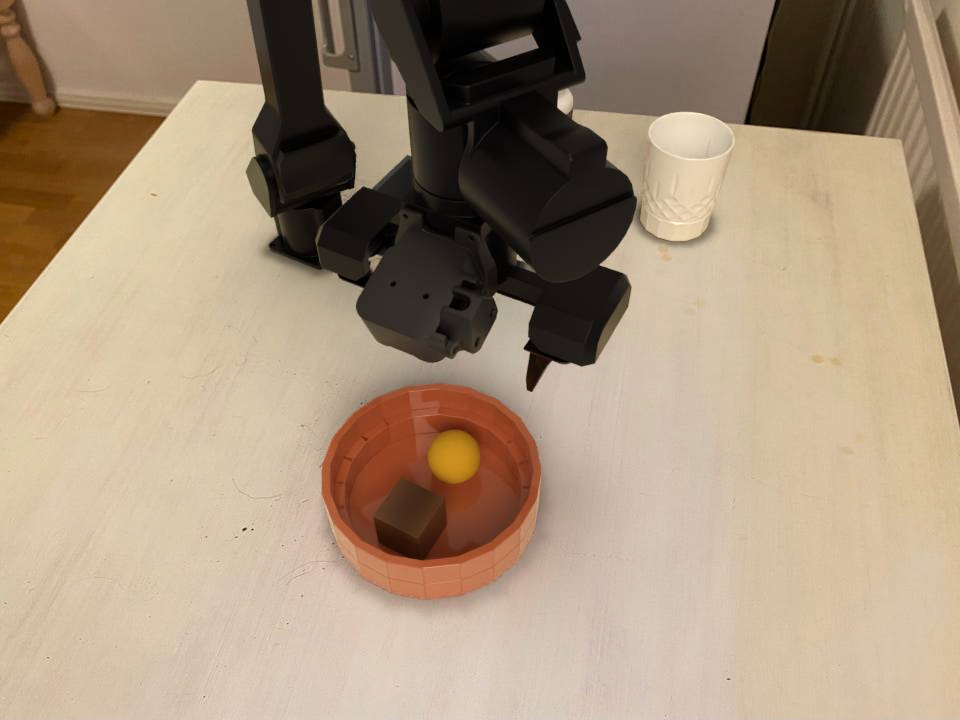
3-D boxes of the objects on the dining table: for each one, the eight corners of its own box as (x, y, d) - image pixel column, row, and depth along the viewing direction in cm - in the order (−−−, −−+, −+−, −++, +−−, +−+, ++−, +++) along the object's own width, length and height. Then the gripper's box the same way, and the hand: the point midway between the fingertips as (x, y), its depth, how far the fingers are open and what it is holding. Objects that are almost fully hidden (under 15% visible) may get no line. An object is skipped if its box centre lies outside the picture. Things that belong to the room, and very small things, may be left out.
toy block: (378, 542, 58) (372, 516, 55) (405, 503, 60) (401, 476, 57) (421, 564, 57) (417, 538, 54) (447, 524, 59) (445, 497, 56)
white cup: (712, 250, 79) (735, 164, 71) (630, 240, 80) (645, 154, 73) (713, 201, 84) (735, 115, 77) (636, 192, 85) (650, 107, 78)
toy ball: (418, 480, 61) (415, 449, 58) (445, 442, 63) (443, 411, 60) (464, 502, 60) (463, 472, 57) (490, 462, 62) (490, 431, 59)
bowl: (289, 541, 58) (276, 504, 55) (403, 397, 67) (398, 356, 63) (474, 641, 53) (473, 608, 50) (571, 471, 62) (576, 432, 58)
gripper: (230, 201, 42) (287, 394, 53) (563, 323, 36) (545, 510, 47) (353, 98, 48) (380, 290, 60) (652, 186, 42) (617, 380, 54)
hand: (471, 362), depth 55 cm, fingers open, 9 cm apart
